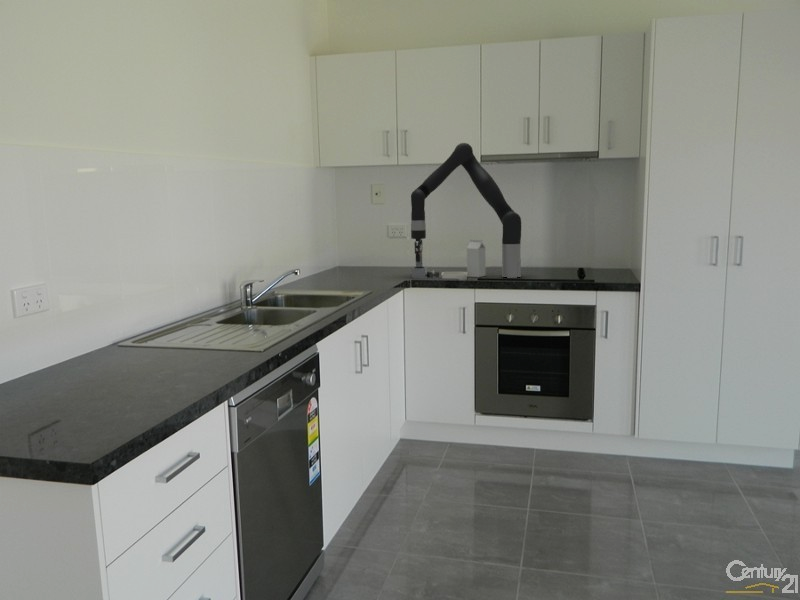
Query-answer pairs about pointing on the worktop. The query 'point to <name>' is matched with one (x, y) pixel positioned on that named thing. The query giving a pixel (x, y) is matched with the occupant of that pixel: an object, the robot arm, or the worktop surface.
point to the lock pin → (419, 264)
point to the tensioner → (424, 273)
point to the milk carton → (475, 259)
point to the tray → (455, 275)
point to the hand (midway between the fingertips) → (418, 260)
